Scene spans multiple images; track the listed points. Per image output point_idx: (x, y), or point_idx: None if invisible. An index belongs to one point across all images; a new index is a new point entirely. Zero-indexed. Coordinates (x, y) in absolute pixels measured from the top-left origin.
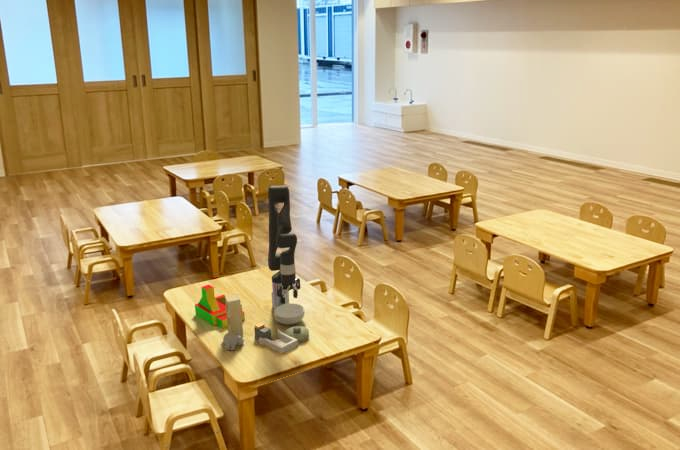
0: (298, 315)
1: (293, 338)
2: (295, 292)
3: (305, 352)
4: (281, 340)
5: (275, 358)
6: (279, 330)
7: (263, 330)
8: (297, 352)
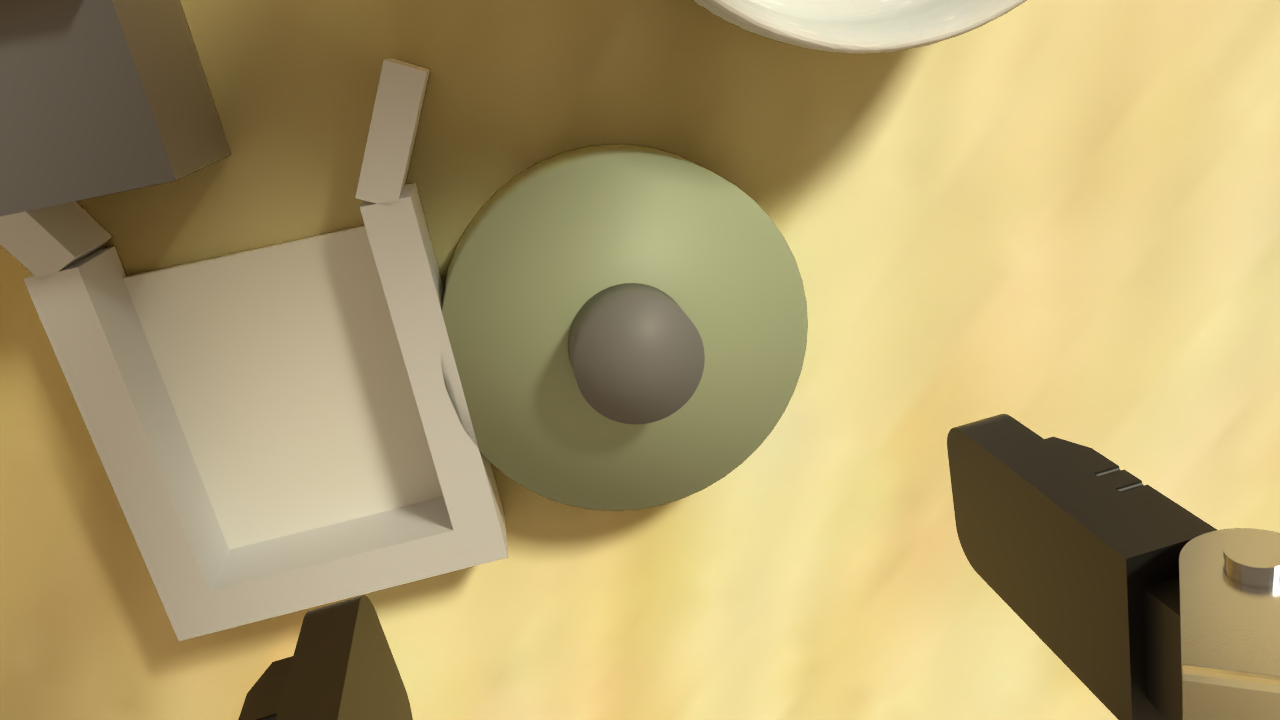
0: (900, 47)
1: (474, 493)
2: (1107, 670)
3: (491, 708)
4: (353, 294)
5: (68, 661)
6: (402, 129)
7: (4, 132)
8: (405, 665)
